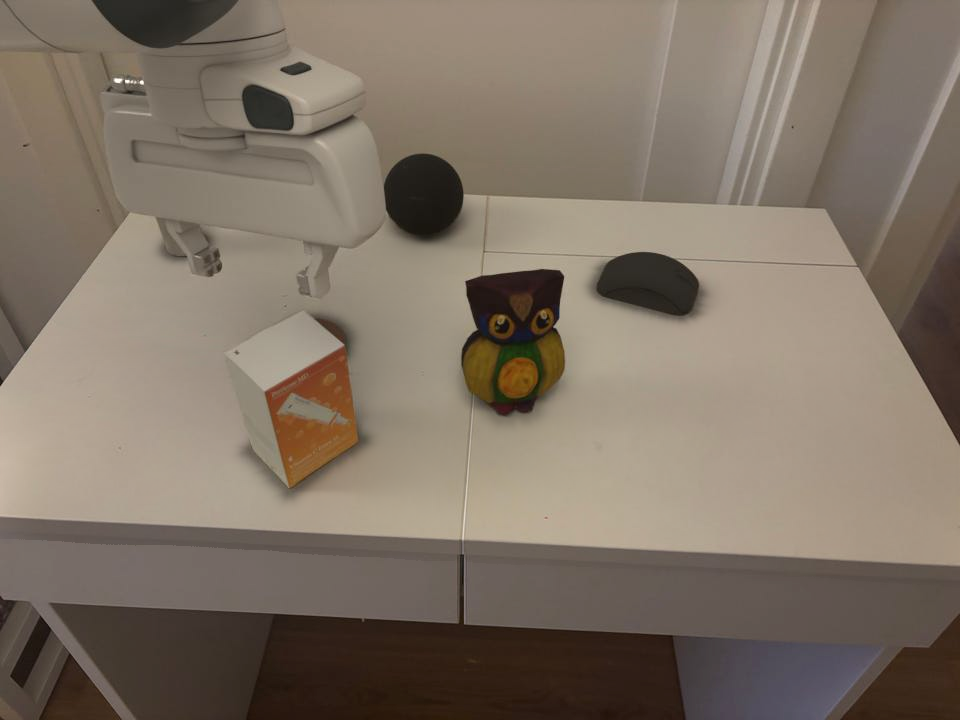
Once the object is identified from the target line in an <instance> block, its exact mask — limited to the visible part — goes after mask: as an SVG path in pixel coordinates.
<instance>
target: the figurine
mask: <svg viewBox="0 0 960 720" xmlns="http://www.w3.org/2000/svg"><path fill="white" fill-rule="evenodd" d="M564 281H565V275H564V274H563V273H562V271H561V270H560V269H548V268H547V269H546V268H538V269H531V270H520V271H519V270H518V271H512V272H502V273H494V274H483V275H479V276H476V277H473V278H470V279H467V280H465V281H464V283H465V287H466V288H465V292H466V293H465V294H466V295H465V296H466V299H467V301H468V305H469V309H470V313H471V315H472V319H473V322H474V326H475V328H476V330H474V331H472V333H470V335H469V336H468V337H467V338H466V340H465V342H464V344H463V346H462V349H461V356H460V365H461V370H462V373H463V377H464V378H463V379H464V382H465V385H466V387H467V390H468V392H469V393H471V394H473V395H475V396H477V397H478V398H480V399H481V400H482V401H484V402H485V403H487V404H489V406H491V407H492V408H493V409H494V410H495V412H497V414H499V415H505V416H509V415H510V414H511V413H512V412H513V411H514V408H515V409H517V411H520V412H523V413H527V412H529V411H532V410H533V409H534V405H535V403H536V400H537V399H538V398H539V397H540V396H543V395H544V394H545V393H546V392H547V391H548V390H550V389H551V387H553V386H554V385H555V384H556V383H558V382H559V380H560V379H561V378H562V376H563V373H564V372H565V368H566V367H565V366H566V354H565V353H566V352H565V349H564V348H565V347H564V344H563V340H562V338H561V334H560V333H559V331H558V329H557V328H556V327H555V326H556V324H557V323H558V321H559V320H560V319H561V318H560V316H561V315H560V314H561V313H560V311H561V299H562V293H563V287H564Z"/></svg>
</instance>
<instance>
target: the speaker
mask: <svg viewBox="0 0 960 720" xmlns="http://www.w3.org/2000/svg"><path fill="white" fill-rule="evenodd" d="M385 177H386V178H385V180H384V182H383V186H384V194H385V204H386V214H387V215H388V217H389V218H390V220H391V221H392V222H393V223H394V224H395V225H396V226H397V227H398V228H399V229H401V230H402V231H404V232H406V233H409V234H411V235H414V236H420V237H429V236H434V235H437V234H439V233H442V232H444V231H446V230H447V229H448V228H450V227H451V226H452V225H453V224H454V223H455V221H456V220H457V218H458V216H460V214H461V211H462V208H463V205H464V199H465V197H464V195H465V194H464V187H463V183H462V179H461V177H460V175H459V174H458V172H457V170H456V169H455V167H453V165H451V164H450V163H449V162H448V161H447V160H445V159H444V158H442V157H440V156H438V155H435V154H431V153H423V152H422V153H414V154H411V155H408V156H406V157H404V158H401V159H400V160H398V161H397V163H395V164H394V165H393V166H392V168H391V169H390V170H389V172H388V173H387V175H386V176H385Z"/></svg>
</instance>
